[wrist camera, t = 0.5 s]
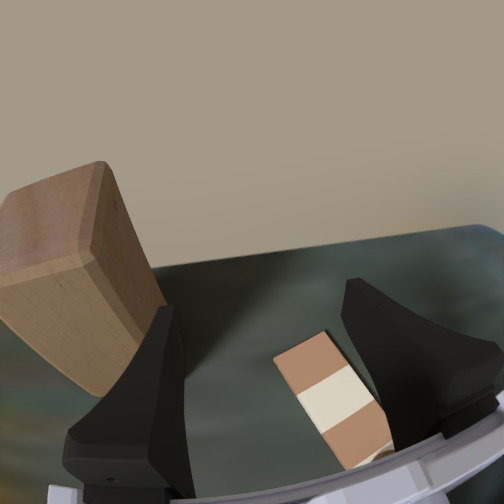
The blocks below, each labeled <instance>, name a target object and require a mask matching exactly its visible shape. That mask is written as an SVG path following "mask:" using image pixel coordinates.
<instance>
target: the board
mask: <svg viewBox="0 0 504 504" xmlns="http://www.w3.org/2000/svg"><path fill="white" fill-rule="evenodd" d="M273 361H274V362H275V364H276V365H277V367H278V369H279V370H280V372H281V373H282V375H283V376H284V378H285V380H286V381H287V383H288V384H289V386H290V387H291V389H292V390H293V392H294V394H295V395H296V397H297V398H298V400H299V401H300V403H301V404H302V406H303V407H304V409H305V410H306V412H307V414H308V415H309V417H310V418H311V420H312V421H313V423H314V424H315V426H316V427H317V429H318V430H319V432H320V433H321V435H322V436H323V438H324V439H325V441H326V442H327V444H328V445H329V447H330V448H331V449H332V451H333V452H334V454H335V455H336V457H337V458H338V460H339V461H340V463H341V464H342V466H343V467H344V468H345V470H350V469H353V468H356V467H359V466H362V465H365V464H367V463H370V462H371V461H372V460H373V458H374V457H375V456H377V455H378V454H380V453H382V452H385V451H388V450H395V449H394V445H393V441H392V436H391V432H390V429H389V425H388V422H387V418H386V415H385V413H384V411H383V410H382V409H381V407H380V406H379V405H378V403H377V402H376V400H375V399H374V398H373V396H372V395H371V394H370V392H369V391H368V390H367V388H366V387H365V386H364V384H363V383H362V381H361V380H360V379H359V377H358V376H357V375H356V373H355V372H354V371H353V369H352V368H351V367H350V365H349V364H348V363H347V361H346V360H345V359H344V357H343V356H342V354H341V353H340V352H339V350H338V349H337V348H336V346H335V345H334V344H333V342H332V341H331V340H330V338H329V337H328V336H327V334H326V333H325V332H324V331H323V332H321V333H319V334H318V335H316V336H314V337H312V338H310V339H309V340H307V341H305V342H303V343H301V344H299V345H298V346H296V347H294V348H292V349H290V350H288V351H286V352H284V353H282V354H280V355H279V356H277V357H275V358H273Z"/></svg>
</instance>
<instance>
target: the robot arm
mask: <svg viewBox="0 0 504 504" xmlns="http://www.w3.org/2000/svg"><path fill="white" fill-rule="evenodd" d="M341 317H342V320H343V323H344V326H345V328H346V331H347V333H348V335H349V337H350V339H351V341H352V343H353V345H354V346H355V348H356V350H357V352H358V354H359V355H360V357H361V359H362V361H363V363H364V364H365V366H366V368H367V370H368V372H369V374H370V376H371V378H372V380H373V382H374V385H375V387H376V390H377V392H378V395H379V397H380V400H381V403H382V406H383V409H384V412H385V415H386V418H387V422H388V425H389V429H390V432H391V436H392V441H393V445H394V449H395V453H394V454H391V455H389V456H386V457H384V458H381V459H378V460H376V461H373V462H370V463H367V464H365V465H362V466H359V467H356V468H353V469H350V470H346V471H343V472H340V473H337V474H333V475H330V476H326V477H322V478H319V479H315V480H311V481H307V482H303V483H299V484H294V485H290V486H285V487H280V488H275V489H270V490H264V491H258V492H252V493H245V494H238V495H230V496H221V497H211V498H198V499H196V495H195V490H194V485H193V479H192V474H191V468H190V461H189V455H188V447H187V439H186V431H185V421H184V377H185V357H184V344H183V338H182V334H181V330H180V326H179V322H178V318H177V314H176V310H175V306H174V305H166V306H159V307H158V308H157V310H156V313H155V315H154V318H153V320H152V322H151V324H150V326H149V329H148V331H147V333H146V335H145V336H144V338H143V340H142V342H141V344H140V346H139V348H138V350H137V351H136V353H135V355H134V356H133V358H132V360H131V361H130V363H129V365H128V366H127V368H126V369H125V371H124V372H123V373H122V375H121V376H120V378H119V379H118V380H117V382H116V383H115V384H114V385H113V387H112V388H111V389H110V390H109V392H108V393H107V394H106V395H105V396H104V397H103V398H102V399H101V400H100V402H99V403H98V404H97V405H96V406H95V407H94V408H93V409H92V410H91V411H90V412H89V413H88V414H87V415H85V416H84V417H83V418H82V419H81V420H80V421H78V422H77V423H76V424H75V425H74V426H72V427H71V428H70V429H68V432H67V436H66V439H65V444H64V451H63V458H62V464H63V467H64V468H65V469H66V470H67V471H68V472H69V473H71V474H72V475H73V476H75V477H76V478H77V479H79V480H80V481H81V482H83V483H84V491H82V490H80V489H76V488H70V487H64V486H58V485H52V484H51V485H49V492H48V503H47V504H450V502H449V500H448V498H447V496H446V493H447V492H449V491H451V490H452V489H454V488H456V487H457V486H459V485H460V484H462V483H464V482H465V481H467V480H468V479H470V478H471V477H473V476H474V475H476V474H477V473H479V472H480V471H481V470H483V469H484V468H486V467H487V466H489V465H490V464H491V463H493V462H494V461H495V460H497V459H498V458H499V457H501V456H502V455H503V454H504V390H503V391H501V392H500V393H499V394H498V395H497V396H496V397H495V395H494V394H493V393H492V392H493V391H494V390H495V387H494V386H493V384H492V382H493V380H494V379H495V377H496V376H497V375H498V373H499V372H500V370H501V369H502V367H503V365H504V353H503V351H502V350H501V349H500V348H499V346H498V345H497V344H496V343H495V342H491V341H486V340H482V339H477V338H473V337H470V336H466V335H463V334H460V333H457V332H454V331H451V330H449V329H446V328H444V327H441V326H439V325H437V324H434V323H432V322H430V321H428V320H426V319H424V318H422V317H420V316H419V315H417V314H415V313H413V312H412V311H410V310H408V309H407V308H405V307H403V306H402V305H400V304H399V303H397V302H395V301H394V300H392V299H391V298H389V297H388V296H386V295H385V294H383V293H382V292H380V291H379V290H378V289H376V288H375V287H373V286H372V285H370V284H369V283H367V282H366V281H364V280H362V279H361V278H355V279H349V280H347V282H346V289H345V295H344V301H343V306H342V312H341Z"/></svg>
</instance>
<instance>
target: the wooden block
mask: <svg viewBox="0 0 504 504" xmlns="http://www.w3.org/2000/svg"><path fill="white" fill-rule="evenodd" d="M166 305H167V303H166V301H165V299H164V296H163V294H162V292H161V290H160V288H159V286H158V283H157V281H156V279H155V277H154V275H153V272H152V270H151V268H150V265H149V263H148V261H147V259H146V256H145V254H144V252H143V249H142V247H141V245H140V242H139V240H138V237H137V235H136V232H135V230H134V227H133V225H132V223H131V220H130V218H129V215H128V212H127V210H126V207H125V204H124V202H123V199H122V197H121V194H120V191H119V188H118V186H117V183H116V180H115V177H114V175H113V172H112V170H111V168H110V167H109V165H108V164H107V163H106V162H105V161H97V162H93V163H90V164H87V165H84V166H81V167H78V168H75V169H72V170H69V171H66V172H63V173H60V174H57V175H55V176H52V177H49V178H46V179H43V180H41V181H38V182H35V183H33V184H30V185H28V186H25V187H23V188H20V189H18V190H15V191H13V192H11V193H9V194H8V195H7V196H6V198H5V199H4V201H3V203H2V204H1V206H0V319H1V320H2V321H3V322H4V323H5V324H6V325H7V326H8V327H9V328H10V329H11V330H13V331H14V332H15V333H16V334H17V335H18V336H19V337H20V338H21V339H22V340H23V341H25V342H26V343H27V344H28V345H29V346H30V347H31V348H32V349H34V350H35V351H36V352H37V353H38V354H40V355H41V356H42V357H43V358H44V359H46V360H47V361H48V362H49V363H50V364H52V365H53V366H54V367H55V368H57V369H58V370H59V371H61V372H62V373H63V374H64V375H66V376H67V377H68V378H70V379H71V380H72V381H74V382H75V383H76V384H78V385H79V386H81V387H82V388H83V389H85V390H86V391H88V392H89V393H90V394H92V395H94V396H97V397H102V396H105V395H106V394H107V393H108V392H109V390H110V389H111V388H112V387H113V385H114V384H115V383H116V382H117V380H118V379H119V378H120V376H121V375H122V373H123V372H124V371H125V369H126V368H127V366H128V365H129V363H130V361H131V360H132V358H133V356H134V355H135V353H136V351H137V350H138V348H139V346H140V344H141V342H142V340H143V338H144V336H145V335H146V333H147V331H148V329H149V326H150V324H151V322H152V320H153V318H154V315H155V313H156V310H157V308H158V307H159V306H166Z"/></svg>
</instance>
